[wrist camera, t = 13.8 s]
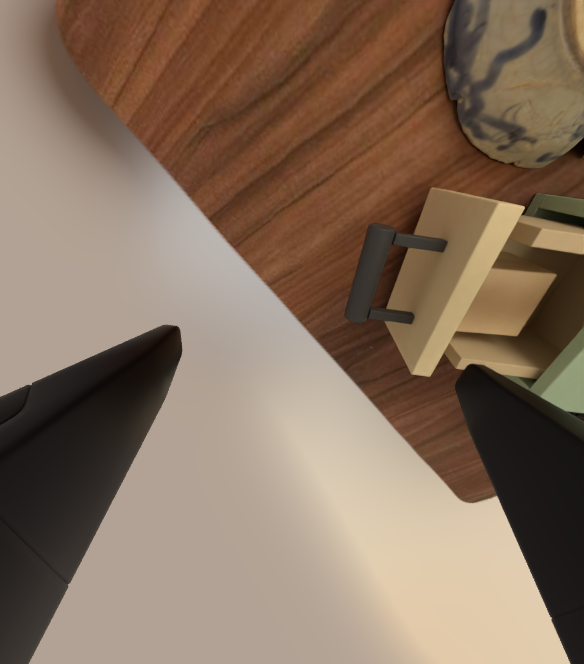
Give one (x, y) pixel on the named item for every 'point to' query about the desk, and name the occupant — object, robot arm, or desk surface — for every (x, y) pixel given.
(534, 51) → the decorative bowl
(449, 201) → the drawer
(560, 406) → the cabinet
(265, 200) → the desk surface
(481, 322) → the block
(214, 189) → the desk surface
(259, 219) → the desk surface
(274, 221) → the desk surface
